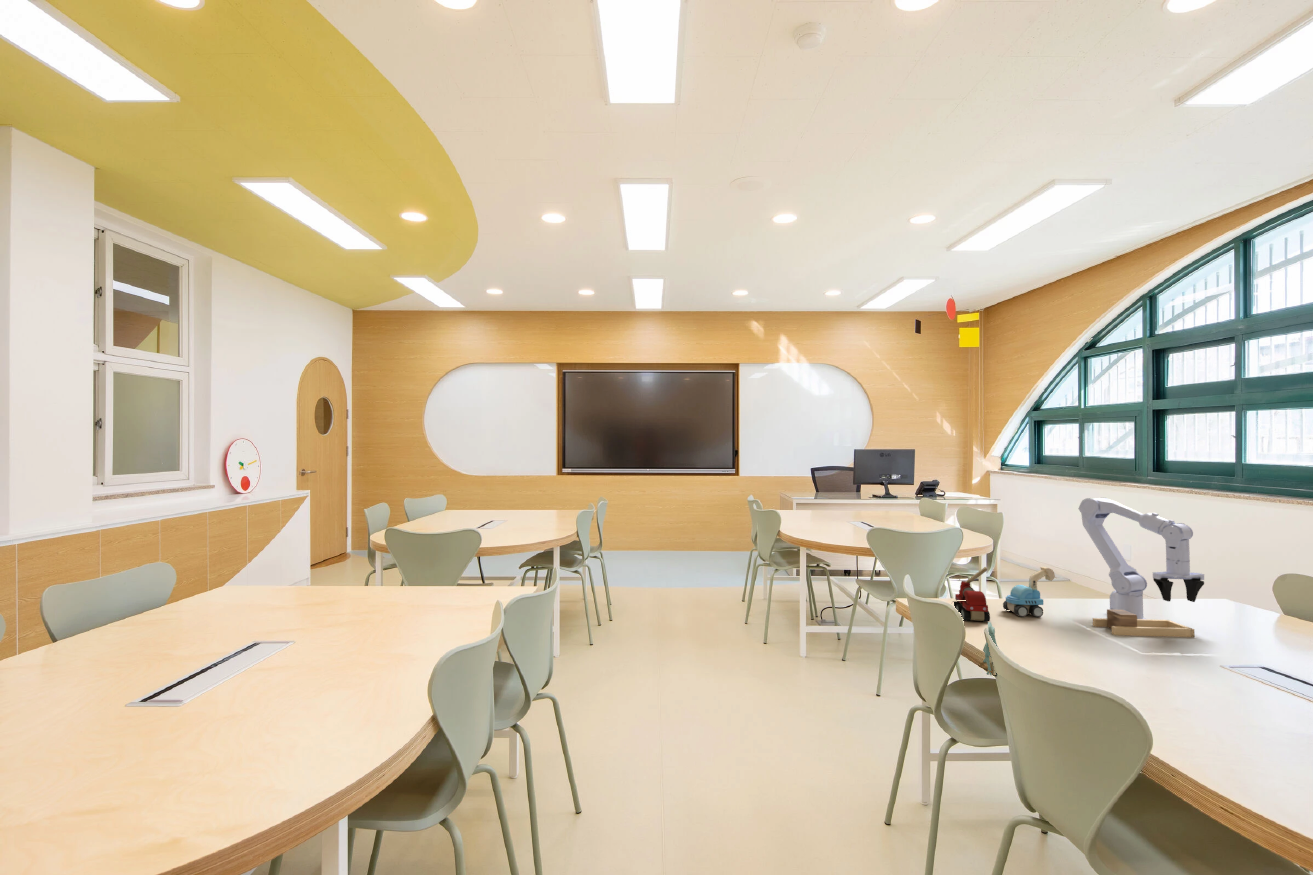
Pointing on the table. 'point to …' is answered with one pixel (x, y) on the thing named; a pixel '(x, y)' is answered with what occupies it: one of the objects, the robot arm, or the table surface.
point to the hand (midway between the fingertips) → (1178, 600)
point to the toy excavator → (1028, 595)
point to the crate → (1121, 618)
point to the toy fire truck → (972, 601)
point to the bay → (1149, 628)
